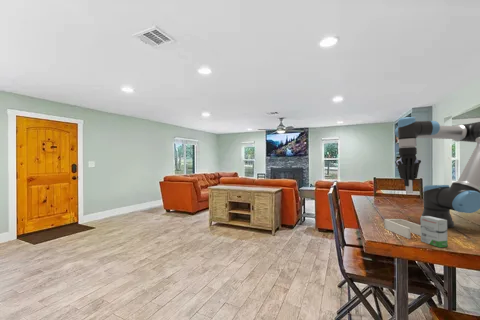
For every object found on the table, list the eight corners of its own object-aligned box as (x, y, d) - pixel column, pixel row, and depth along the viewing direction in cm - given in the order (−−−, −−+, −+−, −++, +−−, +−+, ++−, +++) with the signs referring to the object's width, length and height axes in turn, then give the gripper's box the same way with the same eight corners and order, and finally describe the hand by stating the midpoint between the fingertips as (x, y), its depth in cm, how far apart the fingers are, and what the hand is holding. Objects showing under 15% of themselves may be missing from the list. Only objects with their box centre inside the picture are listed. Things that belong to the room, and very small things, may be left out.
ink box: (448, 247, 100) (448, 219, 100) (439, 248, 99) (438, 220, 100) (429, 240, 109) (428, 215, 109) (420, 241, 108) (419, 215, 108)
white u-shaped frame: (401, 227, 129) (401, 218, 129) (428, 238, 112) (428, 227, 112) (384, 228, 129) (384, 219, 129) (408, 238, 111) (408, 228, 111)
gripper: (412, 147, 125) (414, 190, 125) (390, 148, 124) (392, 192, 124) (425, 146, 118) (427, 192, 117) (401, 147, 116) (403, 194, 116)
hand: (409, 192), depth 121 cm, fingers closed
